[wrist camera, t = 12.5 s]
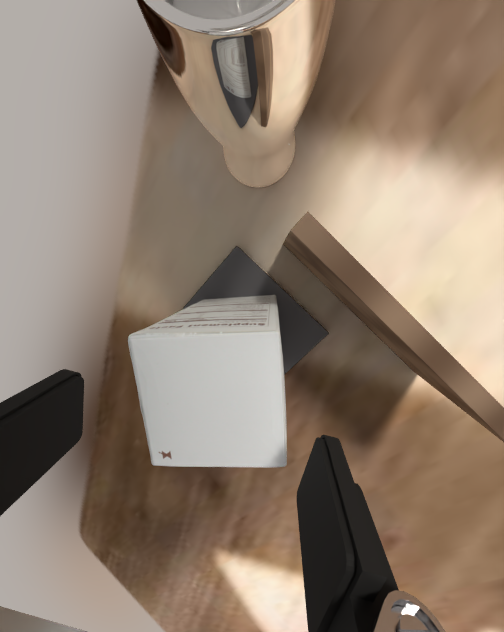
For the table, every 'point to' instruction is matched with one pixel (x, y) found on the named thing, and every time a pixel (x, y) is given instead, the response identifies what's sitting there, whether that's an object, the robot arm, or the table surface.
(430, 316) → the table surface
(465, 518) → the table surface
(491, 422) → the wood grain panel
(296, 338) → the mat
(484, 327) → the table surface
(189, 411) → the supplement box
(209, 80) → the metal tumbler
